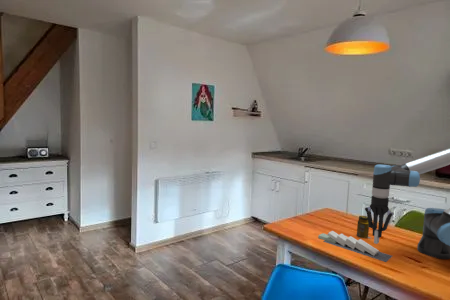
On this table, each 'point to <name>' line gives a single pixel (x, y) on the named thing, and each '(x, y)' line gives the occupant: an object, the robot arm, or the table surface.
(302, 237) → the table surface
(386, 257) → the mat
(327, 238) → the domino
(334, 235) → the domino
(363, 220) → the condiment
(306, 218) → the table surface
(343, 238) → the domino
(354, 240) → the domino
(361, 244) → the domino
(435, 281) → the table surface
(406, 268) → the table surface
